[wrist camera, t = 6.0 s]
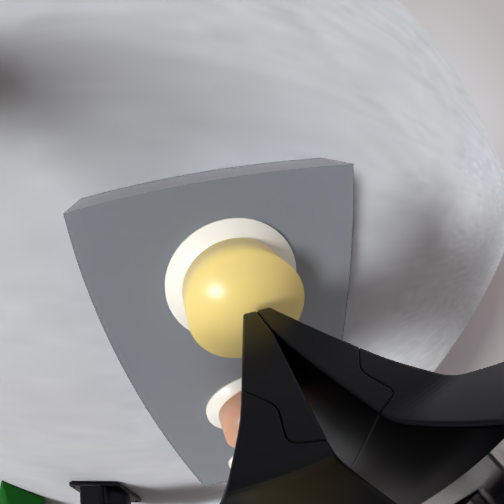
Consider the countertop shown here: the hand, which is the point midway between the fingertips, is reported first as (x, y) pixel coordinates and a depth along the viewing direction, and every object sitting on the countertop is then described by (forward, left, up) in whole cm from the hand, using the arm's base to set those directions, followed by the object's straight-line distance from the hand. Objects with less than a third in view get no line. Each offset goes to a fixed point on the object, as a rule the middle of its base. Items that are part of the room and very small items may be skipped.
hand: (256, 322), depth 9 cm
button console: (-8, 0, -5) cm, 10 cm away
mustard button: (0, 0, -2) cm, 2 cm away
